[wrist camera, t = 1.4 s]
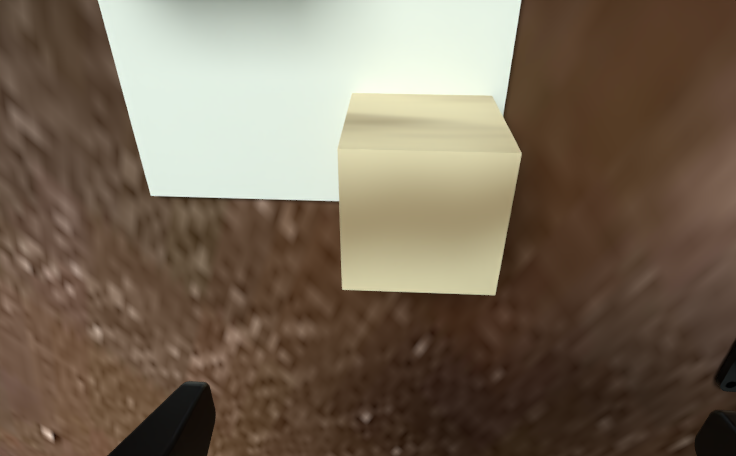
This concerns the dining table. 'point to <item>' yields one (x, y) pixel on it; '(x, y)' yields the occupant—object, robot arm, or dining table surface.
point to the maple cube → (424, 193)
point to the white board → (287, 81)
